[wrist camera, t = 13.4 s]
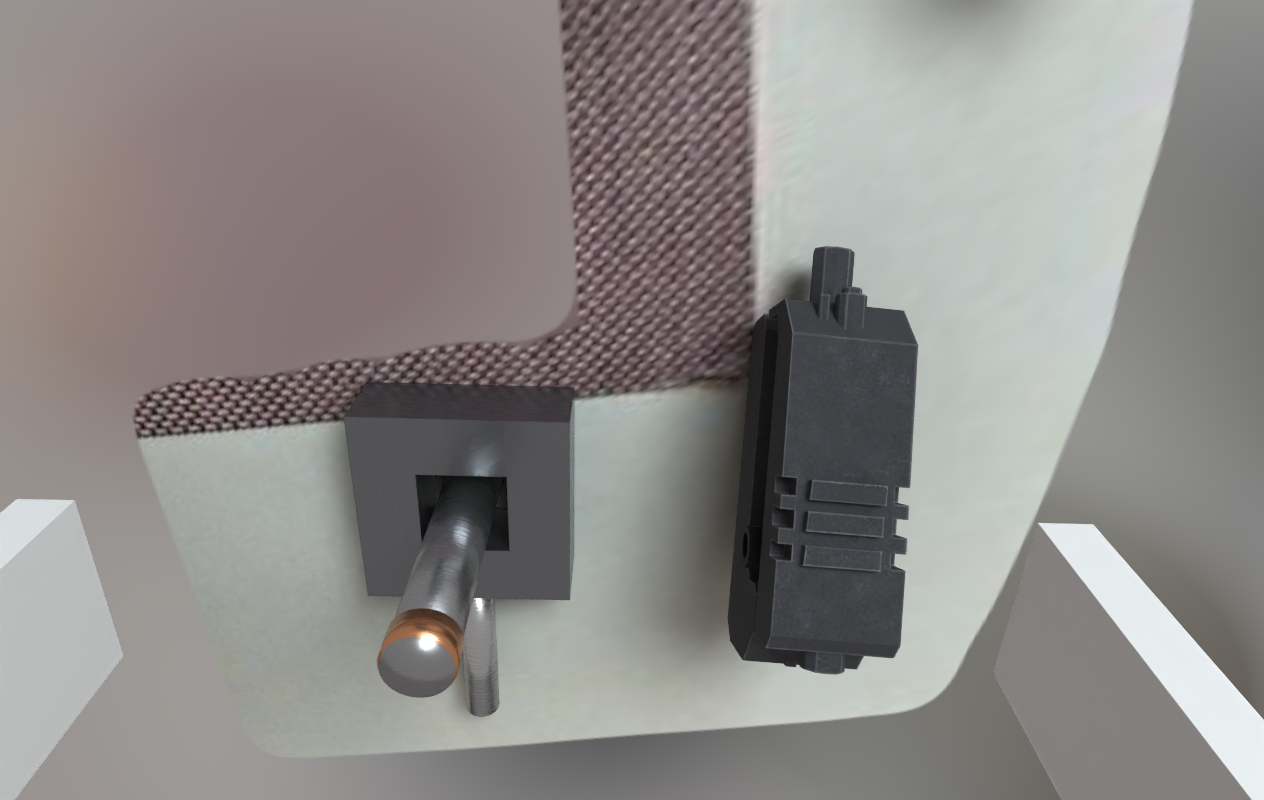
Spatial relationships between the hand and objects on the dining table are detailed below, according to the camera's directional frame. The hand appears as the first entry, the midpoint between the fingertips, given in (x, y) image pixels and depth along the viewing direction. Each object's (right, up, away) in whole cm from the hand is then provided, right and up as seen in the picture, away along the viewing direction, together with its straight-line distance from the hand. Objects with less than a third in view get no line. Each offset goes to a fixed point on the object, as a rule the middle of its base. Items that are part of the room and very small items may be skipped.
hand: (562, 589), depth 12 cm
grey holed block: (-8, -6, +37) cm, 38 cm away
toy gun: (+9, +2, +34) cm, 35 cm away
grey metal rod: (-8, -1, +35) cm, 36 cm away
